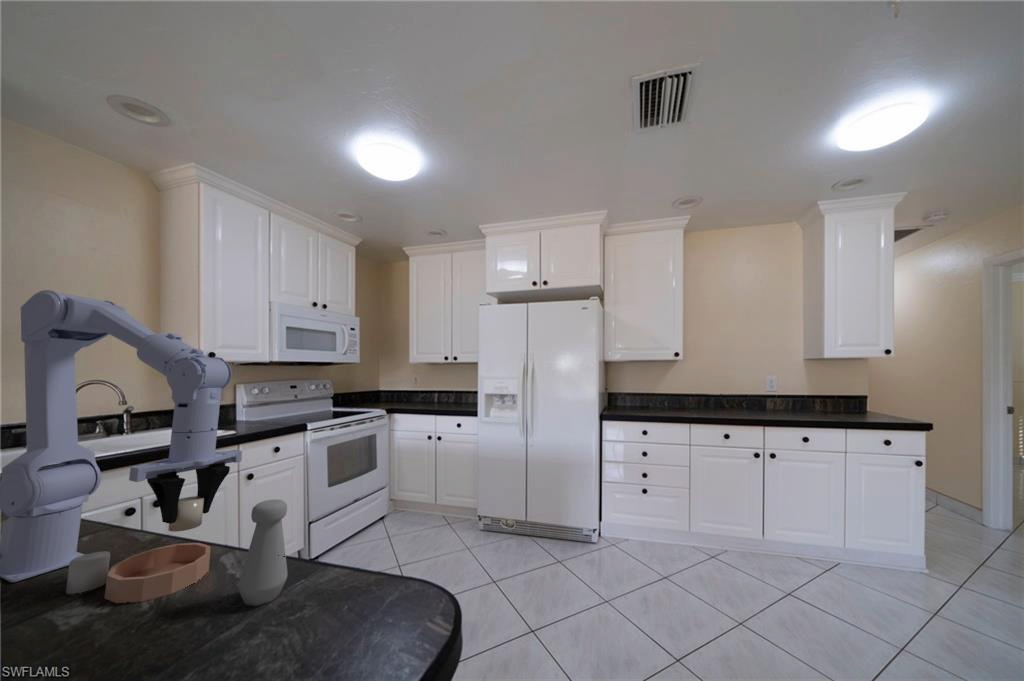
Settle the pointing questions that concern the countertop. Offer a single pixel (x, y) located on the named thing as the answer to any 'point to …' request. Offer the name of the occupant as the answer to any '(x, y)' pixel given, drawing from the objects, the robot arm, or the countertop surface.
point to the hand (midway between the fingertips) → (186, 516)
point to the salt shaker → (265, 555)
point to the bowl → (157, 572)
